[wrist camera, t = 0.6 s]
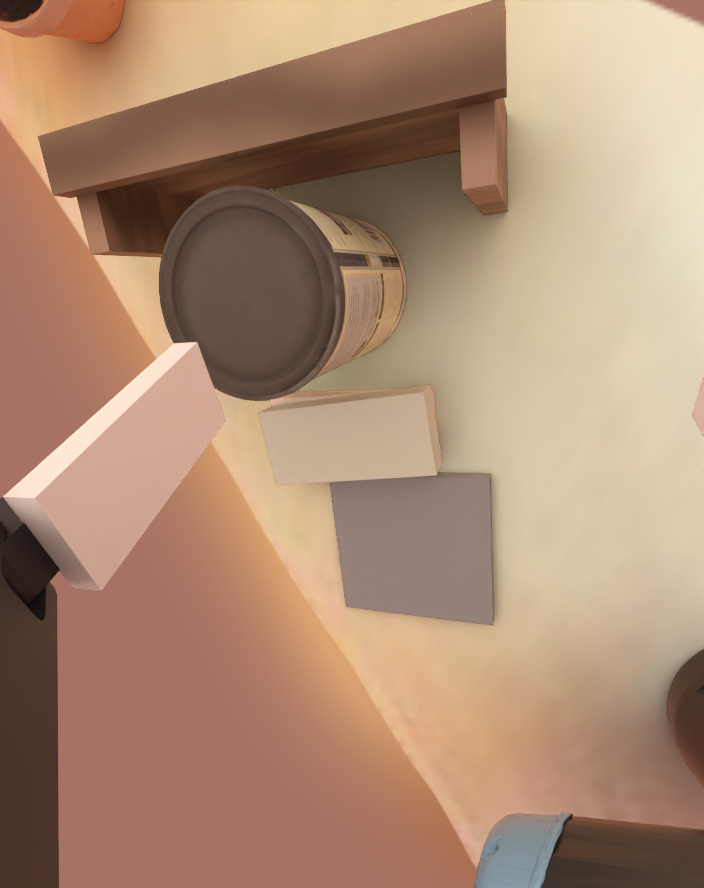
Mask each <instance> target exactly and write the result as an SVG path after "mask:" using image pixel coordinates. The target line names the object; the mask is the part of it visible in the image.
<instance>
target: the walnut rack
mask: <svg viewBox="0 0 704 888" xmlns="http://www.w3.org/2000/svg"><path fill="white" fill-rule="evenodd" d="M505 97H507V76H506V10H505V0H492V1H489V2H486V3H482V4H479V5H476V6H472V7H469V8H466V9H462V10H459V11H456V12H452V13H449V14H446V15H442V16H439V17H436V18H432V19H429V20H426V21H422V22H419V23H415V24H412V25H409V26H405V27H402V28H399V29H395V30H392V31H389V32H385V33H382V34H379V35H375V36H372V37H369V38H365V39H362V40H359V41H355V42H352V43H349V44H345V45H342V46H339V47H335V48H332V49H329V50H325V51H322V52H318V53H315V54H312V55H308V56H305V57H302V58H298V59H295V60H292V61H288V62H285V63H282V64H278V65H275V66H272V67H268V68H265V69H262V70H258V71H255V72H252V73H248V74H245V75H242V76H238V77H235V78H232V79H228V80H225V81H221V82H218V83H215V84H211V85H208V86H205V87H201V88H198V89H195V90H191V91H188V92H185V93H181V94H178V95H175V96H171V97H168V98H165V99H161V100H158V101H155V102H151V103H148V104H145V105H141V106H138V107H135V108H131V109H128V110H124V111H121V112H118V113H114V114H111V115H108V116H104V117H101V118H98V119H94V120H91V121H88V122H84V123H81V124H78V125H74V126H71V127H68V128H64V129H61V130H58V131H54V132H51V133H48V134H44V135H41V136H38V139H39V142H40V146H41V150H42V154H43V158H44V162H45V166H46V170H47V173H48V177H49V181H50V185H51V189H52V193H53V195H55V196H61V197H68V198H72V197H77V200H78V204H79V208H80V212H81V216H82V220H83V224H84V228H85V232H86V236H87V240H88V244H89V248H90V253H91V254H93V255H118V256H143V257H162V253H163V250H164V246H165V243H166V241H167V238H168V236H169V234H170V232H171V230H172V229H173V227H174V225H175V224H176V222H177V221H178V219H179V218H180V217H181V215H182V214H183V213H184V212H185V211H186V210H187V209H188V208H189V207H190V206H191V205H192V204H193V203H194V202H195V201H197V200H198V199H199V198H201V197H202V196H204V195H206V194H208V193H210V192H212V191H215V190H218V189H222V188H227V187H233V186H250V187H257V188H261V189H265V190H267V189H272V188H277V187H282V186H287V185H292V184H297V183H302V182H307V181H312V180H317V179H322V178H327V177H332V176H337V175H341V174H346V173H351V172H356V171H361V170H366V169H371V168H376V167H381V166H386V165H391V164H396V163H401V162H406V161H411V160H416V159H421V158H426V157H431V156H436V155H441V154H446V153H451V152H456V151H461V178H462V191H463V192H464V193H465V194H466V195H467V196H468V197H469V199H470V200H471V201H472V202H473V203H474V204H475V205H476V206H477V208H478V209H479V210H480V211H481V212H482V213H483V214H484V215H486V214H493V213H499V212H506V211H508V188H507V113H506V107H505V101H504V98H505Z"/></svg>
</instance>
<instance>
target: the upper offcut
mask: <svg viewBox="0 0 704 888" xmlns="http://www.w3.org/2000/svg"><path fill="white" fill-rule="evenodd" d="M258 415H259V419H260V423H261V427H262V431H263V435H264V439H265V443H266V447H267V451H268V455H269V459H270V463H271V467H272V471H273V475H274V479H275V483H276V485H288V484H304V483H320V482H337V481H353V480H370V479H386V478H403V477H419V476H435V475H437V473H438V471H439V469H440V467H441V465H442V456H441V450H440V443H439V437H438V430H437V424H436V417H435V411H434V404H433V398H432V391H431V385H423V386H416V387H408V388H400V389H393V390H385V391H378V392H370V393H362V394H355V395H347V396H340V397H332V398H324V399H317V400H309V401H302V402H294V403H287V404H279V405H273V406H271V407H269V408H267V409H265V410H263V411H261V412H259V413H258Z"/></svg>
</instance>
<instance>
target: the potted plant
mask: <svg viewBox="0 0 704 888" xmlns="http://www.w3.org/2000/svg"><path fill="white" fill-rule="evenodd" d="M123 9H124V0H0V28H1V29H3V30H5V31H8V32H10V33H13V34H15V35H18V36H22V37H39V36H42V35H51V36H59V37H66V38H73V39H79V40H82V41H85V42H88V43H96V42H104V41H105V40H106V39H108V38H109V37H110V36H111V35H112V34H113V33H114V32H115V31H116V30H117V29H118V27H119V24H120V22H121V18H122V15H123Z"/></svg>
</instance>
